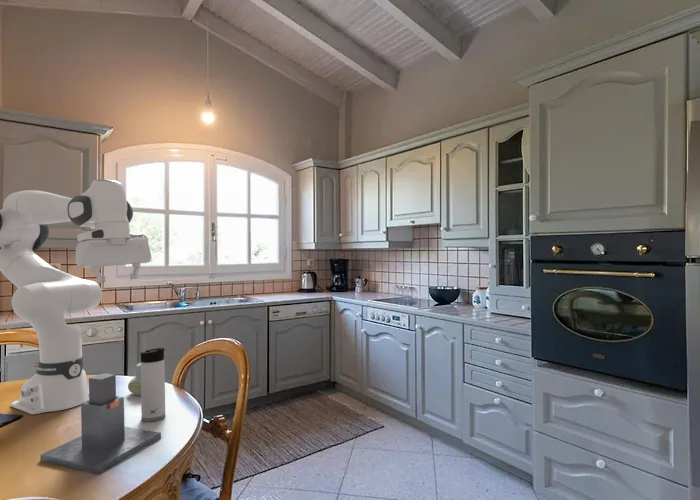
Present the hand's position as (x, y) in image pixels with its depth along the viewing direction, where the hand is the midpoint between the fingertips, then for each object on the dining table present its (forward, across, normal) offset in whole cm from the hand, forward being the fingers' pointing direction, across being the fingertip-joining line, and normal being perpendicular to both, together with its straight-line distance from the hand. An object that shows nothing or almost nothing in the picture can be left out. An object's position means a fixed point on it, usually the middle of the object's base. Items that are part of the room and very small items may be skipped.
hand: (118, 280), depth 124 cm
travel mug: (+41, -3, +6) cm, 41 cm away
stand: (+41, +15, +13) cm, 45 cm away
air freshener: (+39, -14, -17) cm, 44 cm away
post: (+39, +15, +13) cm, 44 cm away
